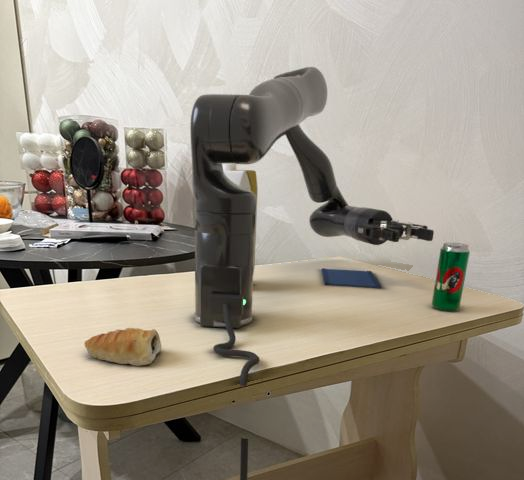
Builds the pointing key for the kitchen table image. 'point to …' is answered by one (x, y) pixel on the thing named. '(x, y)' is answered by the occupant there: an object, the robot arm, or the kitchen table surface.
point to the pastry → (125, 346)
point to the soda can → (450, 276)
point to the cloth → (350, 278)
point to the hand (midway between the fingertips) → (415, 236)
